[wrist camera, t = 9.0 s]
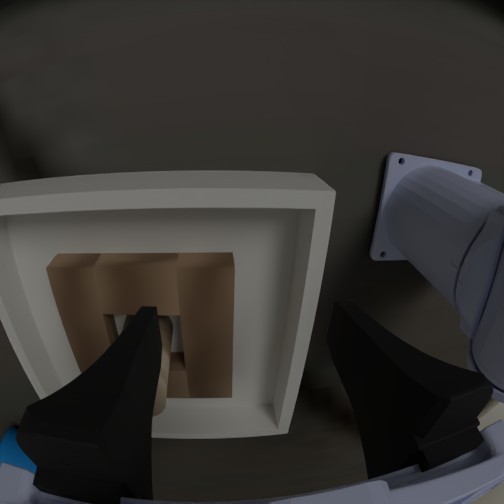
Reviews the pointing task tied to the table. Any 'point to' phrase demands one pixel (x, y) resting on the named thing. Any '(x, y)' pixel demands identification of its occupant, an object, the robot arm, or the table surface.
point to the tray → (178, 241)
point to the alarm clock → (14, 451)
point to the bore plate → (153, 294)
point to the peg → (166, 337)
